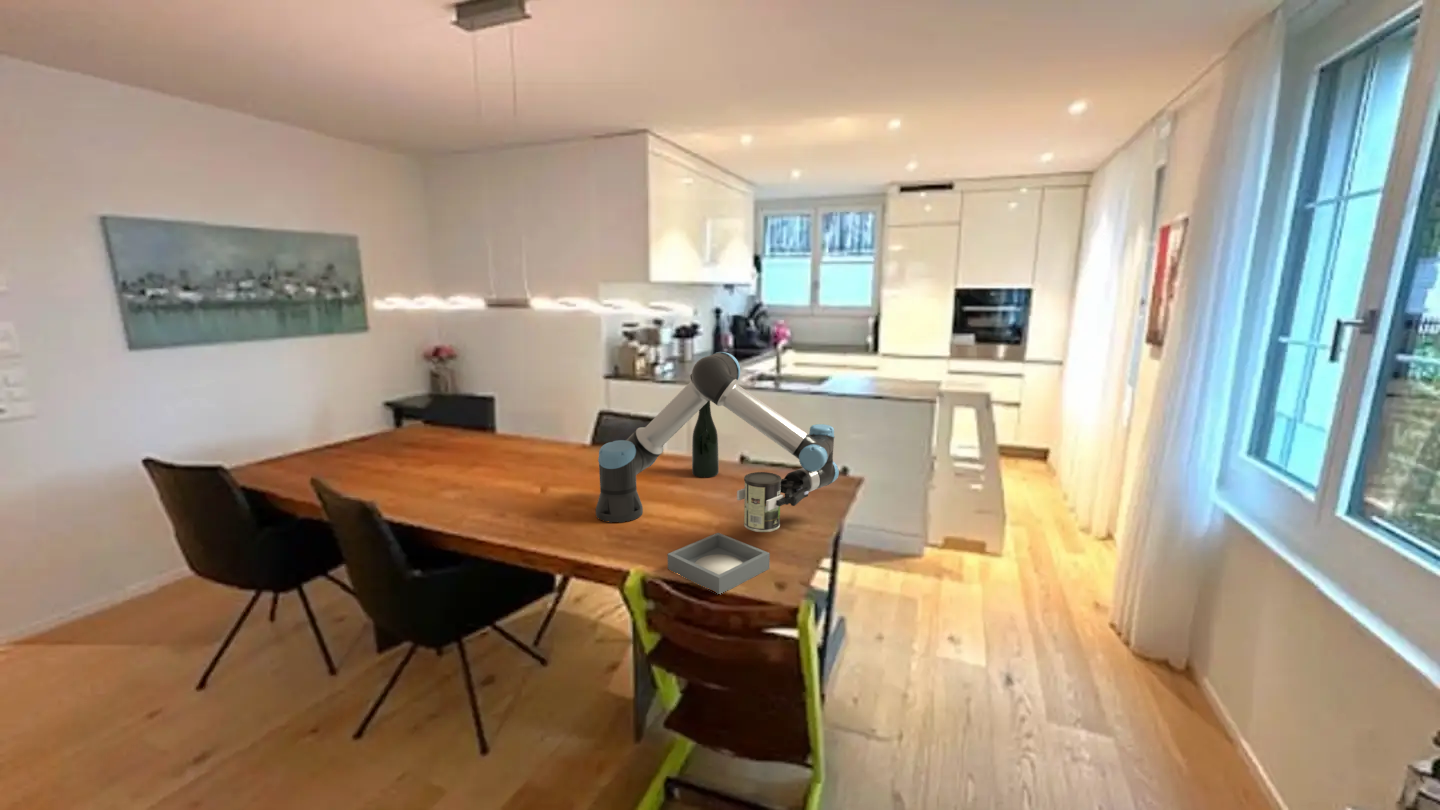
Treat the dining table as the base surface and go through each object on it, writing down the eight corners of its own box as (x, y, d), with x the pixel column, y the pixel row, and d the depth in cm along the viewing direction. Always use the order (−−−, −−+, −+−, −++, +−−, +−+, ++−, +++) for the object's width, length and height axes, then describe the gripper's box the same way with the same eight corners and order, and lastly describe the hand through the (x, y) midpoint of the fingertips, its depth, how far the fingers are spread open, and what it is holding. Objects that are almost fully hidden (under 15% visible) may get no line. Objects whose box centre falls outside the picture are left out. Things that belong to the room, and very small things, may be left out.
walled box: (719, 595, 146) (719, 578, 146) (667, 569, 159) (667, 553, 159) (769, 568, 160) (769, 552, 159) (718, 547, 173) (718, 532, 172)
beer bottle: (694, 469, 244) (692, 389, 237) (719, 470, 243) (719, 389, 236) (690, 478, 234) (689, 394, 227) (717, 478, 233) (716, 394, 226)
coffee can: (778, 518, 175) (779, 471, 173) (781, 532, 165) (782, 483, 162) (743, 517, 176) (743, 471, 173) (743, 532, 166) (744, 483, 163)
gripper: (832, 503, 174) (784, 525, 159) (771, 484, 190) (722, 502, 174) (833, 478, 173) (785, 498, 157) (772, 461, 188) (722, 478, 173)
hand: (752, 500), depth 166 cm, fingers closed on coffee can, 10 cm apart
